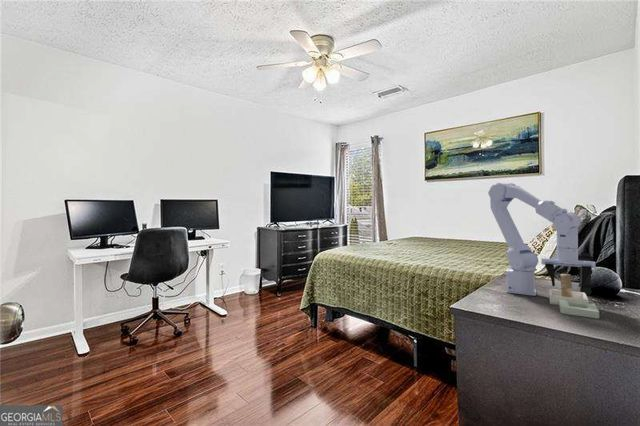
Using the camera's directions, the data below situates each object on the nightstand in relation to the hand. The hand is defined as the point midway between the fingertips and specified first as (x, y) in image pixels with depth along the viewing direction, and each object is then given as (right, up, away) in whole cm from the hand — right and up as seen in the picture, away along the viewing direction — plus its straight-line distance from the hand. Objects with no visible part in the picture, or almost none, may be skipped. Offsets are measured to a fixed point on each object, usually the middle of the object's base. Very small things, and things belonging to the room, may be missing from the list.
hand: (567, 287), depth 106 cm
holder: (-4, -6, -9) cm, 12 cm away
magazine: (+19, -5, +15) cm, 25 cm away
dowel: (0, -5, 0) cm, 5 cm away
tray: (0, -5, 0) cm, 5 cm away
